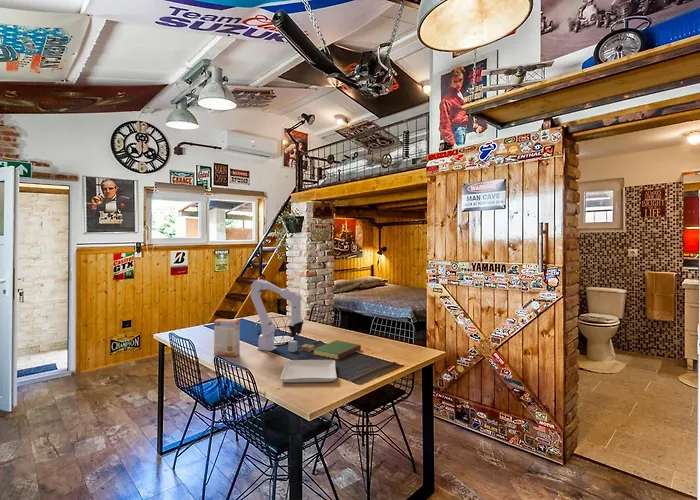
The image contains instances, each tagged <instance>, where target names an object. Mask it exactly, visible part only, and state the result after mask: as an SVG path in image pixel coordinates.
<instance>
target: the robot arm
mask: <svg viewBox="0 0 700 500" xmlns="http://www.w3.org/2000/svg"><path fill="white" fill-rule="evenodd" d="M250 289H251V290H250V298H251V301H252V302H253V303H252V304H253V306H254V308H255V311H256V314H257V315H258V318H259V320H260V328H261V334H260V335H259V336H258V345H257V346H258V348H257V350H260V351H267V352H273V351H274V350H275V349H277V348H278V347H277V346H275V331H276V330H277V329H276V328H277V327H276V325H275V323H274V322H273V321H272V319H270V318H269V314H268V313H267V310H266V308H265V305H264V303H263V301H262V297H261V294H262V292H263V291H264V290H269V291H271V292H274V293H276V294H278V295H280V297H281V298H283V299H285V300H286V301H289V302H290V303H291V320H290V323H289V324H288V329H289V330H290V334H291V337H292V338H293V337H295V338H296V336H297V334H299V335H301V331H302V327H303V325H304V321H303V318H302V317H301V315H302V310H301V309H302V307H301V301H302V299H303V298H302V296H301V294H300V293H296V292H295V291H292V290H289V288H281V287H278V286H277V285H275V284H273V283H271V282H269V280H265V279H263V278H262V279H258V280H254V281H253V282H252V283H251V285H250Z"/></svg>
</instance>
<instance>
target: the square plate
mask: <svg viewBox="0 0 700 500" xmlns="http://www.w3.org/2000/svg"><path fill="white" fill-rule="evenodd" d="M282 368H283V369H282V372H281V374H280V377H279V379H280V381H281V382H284V383H327V382H328V383H330V382H333V381H335V380H336V379H337V378H338V376H337V370H336V359H298V360H297V359H296V360H295V359H293V360H291V359H290V360H285V362H284V365H283V367H282Z"/></svg>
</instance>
